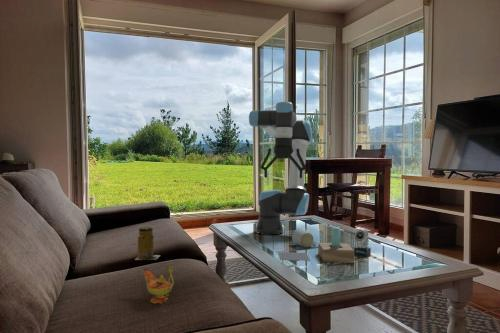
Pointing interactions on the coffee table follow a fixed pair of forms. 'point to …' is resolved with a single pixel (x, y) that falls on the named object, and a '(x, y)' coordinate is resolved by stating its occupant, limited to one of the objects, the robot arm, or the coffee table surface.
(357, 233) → the watch
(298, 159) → the robot arm
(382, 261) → the coffee table surface
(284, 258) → the mat
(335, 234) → the dowel
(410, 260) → the coffee table surface
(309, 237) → the ceramic mug
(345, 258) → the socket block
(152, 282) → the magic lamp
